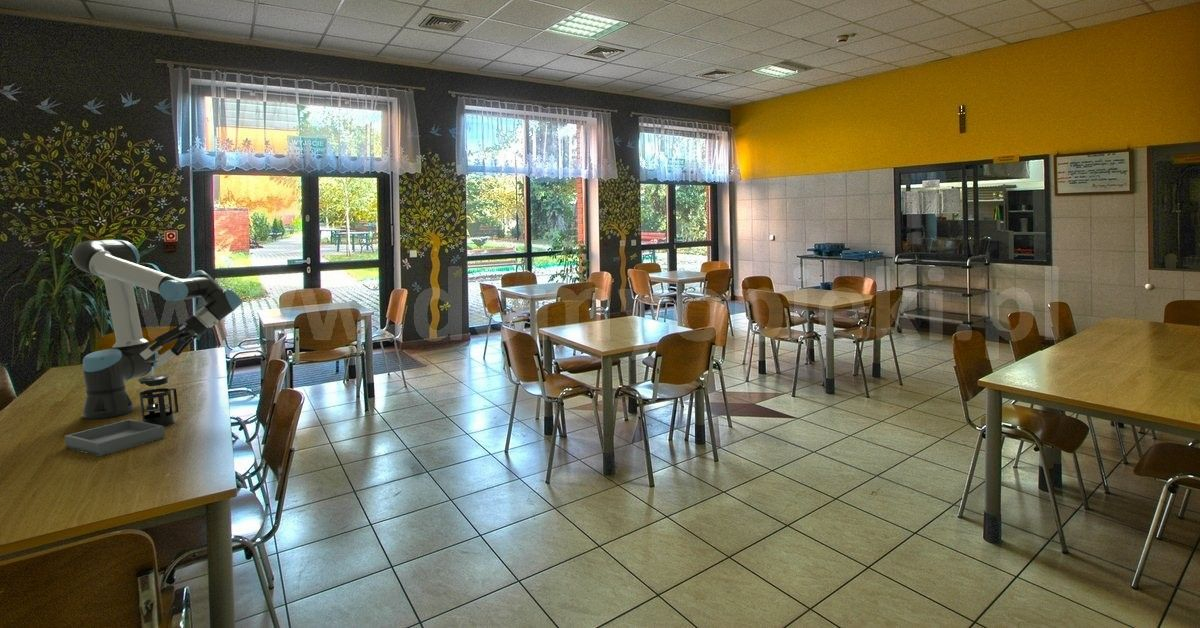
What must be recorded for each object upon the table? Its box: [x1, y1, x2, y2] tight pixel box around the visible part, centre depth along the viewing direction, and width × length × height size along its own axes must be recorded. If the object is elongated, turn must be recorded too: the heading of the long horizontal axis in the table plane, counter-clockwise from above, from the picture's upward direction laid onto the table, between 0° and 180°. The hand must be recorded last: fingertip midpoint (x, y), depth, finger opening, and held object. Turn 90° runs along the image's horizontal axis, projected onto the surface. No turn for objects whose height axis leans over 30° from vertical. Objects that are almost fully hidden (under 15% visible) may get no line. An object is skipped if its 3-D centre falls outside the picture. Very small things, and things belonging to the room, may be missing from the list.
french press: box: [137, 360, 179, 427], centre depth 223 cm, size 12×9×23 cm
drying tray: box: [64, 418, 166, 457], centre depth 205 cm, size 19×19×4 cm
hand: (149, 360), depth 230 cm, fingers open, 13 cm apart
